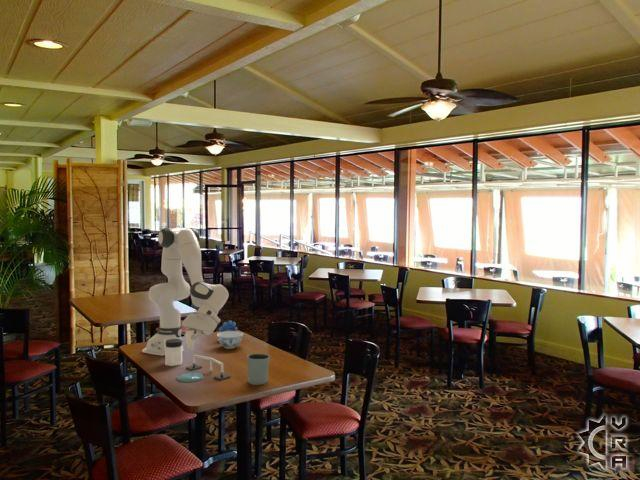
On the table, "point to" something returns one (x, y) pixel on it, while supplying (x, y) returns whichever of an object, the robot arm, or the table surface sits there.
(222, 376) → the bent bar stand
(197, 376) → the saucer
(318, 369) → the table surface
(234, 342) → the chinaware
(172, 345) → the jar
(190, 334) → the salt shaker
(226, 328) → the grapes
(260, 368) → the grey-green open cylinder
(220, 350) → the table surface
